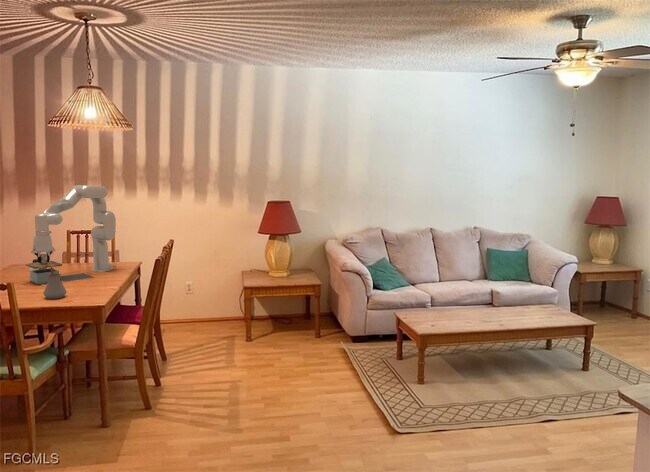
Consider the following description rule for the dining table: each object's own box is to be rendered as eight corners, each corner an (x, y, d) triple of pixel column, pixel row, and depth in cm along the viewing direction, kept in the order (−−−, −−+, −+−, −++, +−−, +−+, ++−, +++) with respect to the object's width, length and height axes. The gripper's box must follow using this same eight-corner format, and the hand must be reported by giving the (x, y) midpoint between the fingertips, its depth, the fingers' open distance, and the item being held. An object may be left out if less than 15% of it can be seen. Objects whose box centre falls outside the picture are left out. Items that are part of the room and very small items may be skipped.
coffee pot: (67, 298, 295) (66, 271, 293) (44, 300, 289) (43, 273, 287) (63, 290, 313) (62, 265, 311) (41, 292, 307) (40, 267, 305)
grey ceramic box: (52, 278, 345) (51, 268, 344) (59, 281, 336) (59, 271, 335) (30, 281, 336) (29, 270, 335) (37, 284, 327) (36, 273, 326)
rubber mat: (83, 273, 362) (83, 273, 362) (95, 277, 349) (95, 277, 349) (53, 277, 349) (53, 277, 348) (64, 282, 335) (64, 281, 335)
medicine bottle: (39, 278, 346) (38, 260, 344) (30, 277, 347) (28, 259, 345) (47, 276, 353) (46, 258, 351) (37, 275, 354) (36, 258, 352)
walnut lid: (52, 262, 346) (52, 251, 345) (62, 265, 335) (61, 254, 334) (25, 265, 334) (25, 254, 333) (34, 269, 323) (33, 257, 322)
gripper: (54, 232, 341) (55, 260, 343) (25, 234, 329) (27, 263, 331) (58, 233, 335) (60, 261, 338) (29, 235, 323) (31, 264, 326)
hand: (43, 262), depth 334 cm, fingers closed on walnut lid, 4 cm apart
